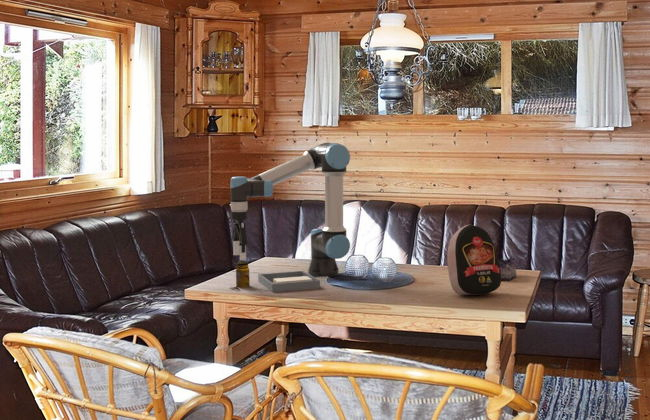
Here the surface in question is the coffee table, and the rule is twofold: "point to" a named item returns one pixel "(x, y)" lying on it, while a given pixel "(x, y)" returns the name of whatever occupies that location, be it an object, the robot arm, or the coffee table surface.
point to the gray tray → (279, 287)
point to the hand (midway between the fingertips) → (239, 257)
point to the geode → (507, 269)
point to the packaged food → (473, 262)
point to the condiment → (242, 275)
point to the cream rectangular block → (291, 279)
